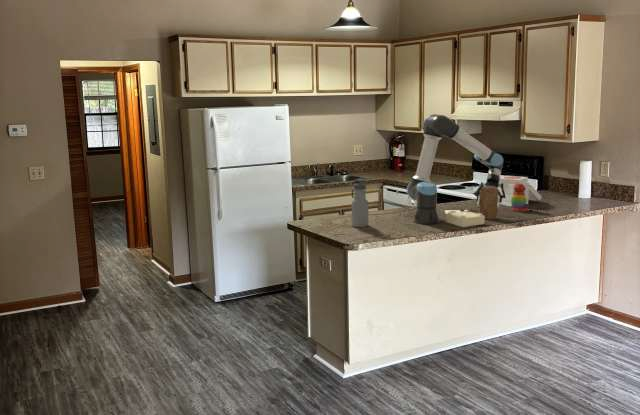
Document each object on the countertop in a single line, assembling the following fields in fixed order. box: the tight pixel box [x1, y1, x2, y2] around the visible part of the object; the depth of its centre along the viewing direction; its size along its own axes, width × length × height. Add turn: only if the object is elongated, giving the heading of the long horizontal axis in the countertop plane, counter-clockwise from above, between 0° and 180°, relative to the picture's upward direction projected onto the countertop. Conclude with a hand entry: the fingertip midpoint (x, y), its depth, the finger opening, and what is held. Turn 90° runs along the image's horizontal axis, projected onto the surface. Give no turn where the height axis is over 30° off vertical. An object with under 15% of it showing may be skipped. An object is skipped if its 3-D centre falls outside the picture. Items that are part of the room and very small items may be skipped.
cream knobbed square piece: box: [445, 209, 485, 228], centre depth 366 cm, size 16×16×6 cm
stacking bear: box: [510, 183, 529, 213], centre depth 399 cm, size 11×10×18 cm
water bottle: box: [351, 178, 369, 228], centre depth 363 cm, size 10×10×28 cm
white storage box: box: [498, 175, 542, 207], centre depth 424 cm, size 19×30×18 cm, turn 119°
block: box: [479, 186, 499, 221], centre depth 376 cm, size 11×8×20 cm
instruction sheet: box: [444, 209, 462, 215], centre depth 397 cm, size 10×14×1 cm
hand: (487, 205), depth 374 cm, fingers closed on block, 11 cm apart
